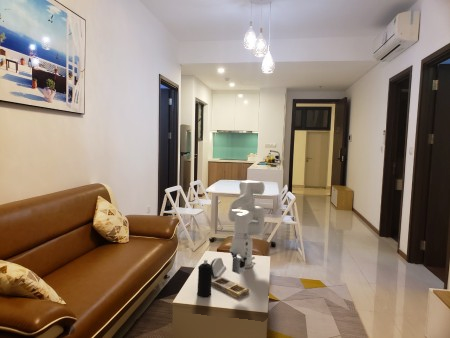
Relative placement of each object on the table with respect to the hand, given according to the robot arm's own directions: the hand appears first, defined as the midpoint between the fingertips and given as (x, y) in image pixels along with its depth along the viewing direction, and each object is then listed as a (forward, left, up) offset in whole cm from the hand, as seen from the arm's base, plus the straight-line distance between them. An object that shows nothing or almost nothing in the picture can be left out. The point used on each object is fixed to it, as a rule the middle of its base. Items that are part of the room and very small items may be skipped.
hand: (238, 265), depth 177 cm
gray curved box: (-11, -26, -17) cm, 33 cm away
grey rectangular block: (0, 0, -4) cm, 4 cm away
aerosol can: (+15, -12, -17) cm, 26 cm away
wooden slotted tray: (0, -6, -17) cm, 18 cm away
